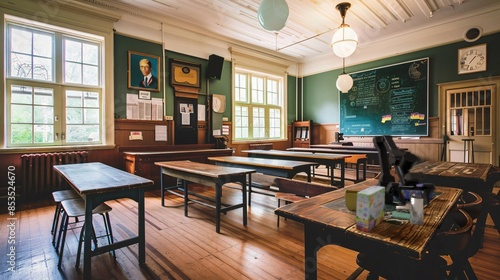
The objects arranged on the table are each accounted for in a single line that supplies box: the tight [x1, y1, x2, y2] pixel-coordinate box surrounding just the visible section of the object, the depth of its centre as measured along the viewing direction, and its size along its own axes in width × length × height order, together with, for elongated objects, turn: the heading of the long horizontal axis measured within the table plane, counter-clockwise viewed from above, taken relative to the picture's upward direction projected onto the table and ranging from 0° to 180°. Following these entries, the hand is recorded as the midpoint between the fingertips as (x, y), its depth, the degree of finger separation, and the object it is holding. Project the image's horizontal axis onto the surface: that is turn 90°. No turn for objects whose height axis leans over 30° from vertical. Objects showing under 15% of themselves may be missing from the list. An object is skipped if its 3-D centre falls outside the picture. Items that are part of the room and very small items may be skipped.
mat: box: [391, 211, 410, 221], centre depth 115 cm, size 8×8×1 cm
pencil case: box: [393, 183, 434, 200], centre depth 148 cm, size 22×9×10 cm, turn 90°
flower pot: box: [343, 189, 361, 212], centre depth 126 cm, size 9×9×9 cm
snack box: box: [355, 185, 385, 233], centre depth 104 cm, size 21×6×15 cm, turn 137°
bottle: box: [409, 194, 424, 226], centre depth 106 cm, size 5×5×12 cm
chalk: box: [395, 205, 409, 211], centre depth 126 cm, size 7×2×2 cm, turn 80°
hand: (416, 205), depth 105 cm, fingers open, 9 cm apart
